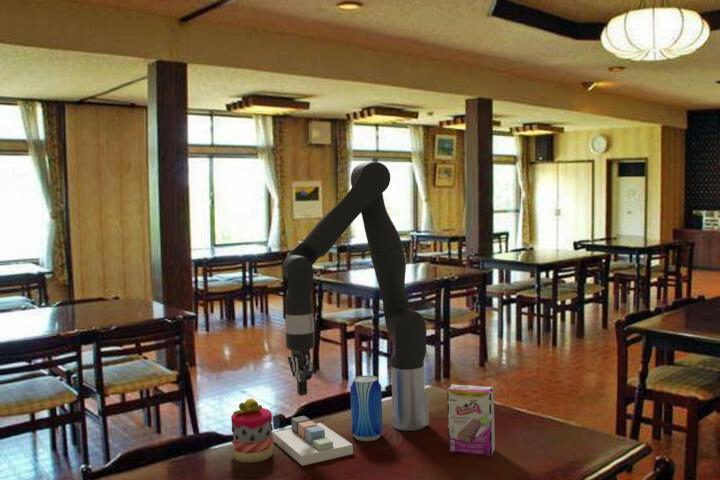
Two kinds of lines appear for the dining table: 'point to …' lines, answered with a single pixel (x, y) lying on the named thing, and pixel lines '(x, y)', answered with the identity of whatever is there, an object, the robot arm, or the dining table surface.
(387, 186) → the robot arm
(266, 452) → the cake
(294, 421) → the charcoal key
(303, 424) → the terracotta key
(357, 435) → the beer can
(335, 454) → the keypad frame
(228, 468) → the dining table surface
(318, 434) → the slate-blue key
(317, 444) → the sage key
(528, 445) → the dining table surface
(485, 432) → the candy bar box
